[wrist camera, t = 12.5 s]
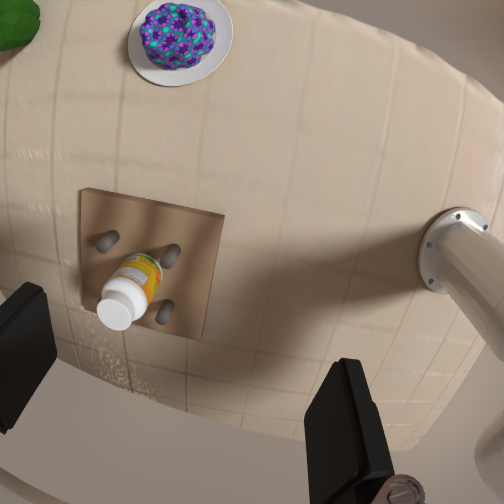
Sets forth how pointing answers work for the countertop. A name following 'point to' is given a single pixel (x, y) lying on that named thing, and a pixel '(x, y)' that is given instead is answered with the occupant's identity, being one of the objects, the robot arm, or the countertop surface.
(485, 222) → the robot arm
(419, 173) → the countertop surface
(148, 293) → the supplement bottle
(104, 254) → the peg cradle
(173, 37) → the pudding
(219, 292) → the countertop surface
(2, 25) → the bell pepper
